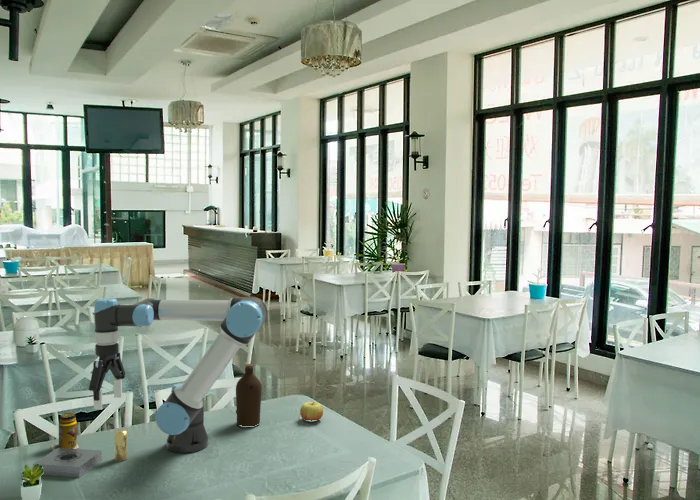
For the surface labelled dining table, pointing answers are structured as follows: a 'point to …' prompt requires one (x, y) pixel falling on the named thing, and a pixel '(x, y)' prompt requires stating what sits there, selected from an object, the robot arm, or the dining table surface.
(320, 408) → the apple
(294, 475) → the dining table surface
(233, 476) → the dining table surface
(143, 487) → the dining table surface
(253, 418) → the olive oil
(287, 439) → the dining table surface
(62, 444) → the condiment
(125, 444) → the yellow cylinder
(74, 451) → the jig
